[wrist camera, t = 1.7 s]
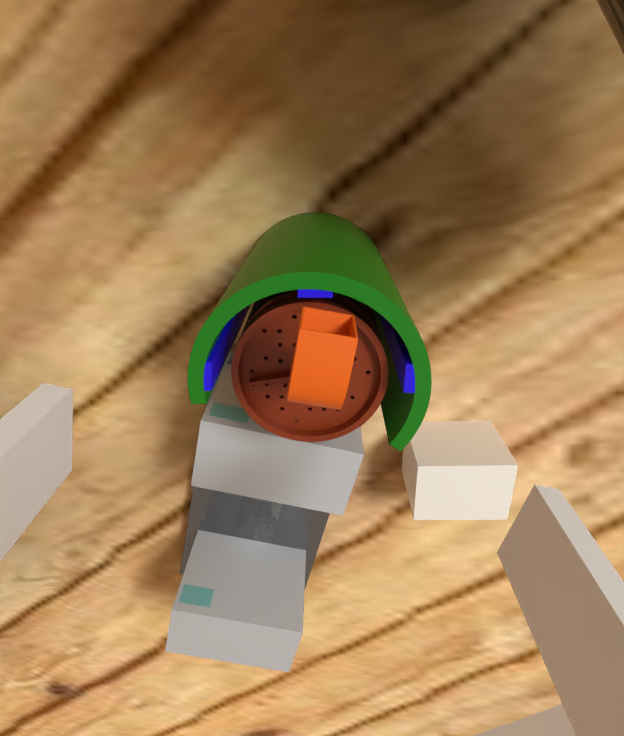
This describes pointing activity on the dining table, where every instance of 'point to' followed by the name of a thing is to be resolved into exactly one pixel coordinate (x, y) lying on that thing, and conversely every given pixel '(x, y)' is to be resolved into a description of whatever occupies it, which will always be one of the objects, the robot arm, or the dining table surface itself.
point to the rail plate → (253, 518)
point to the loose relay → (458, 472)
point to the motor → (316, 336)
